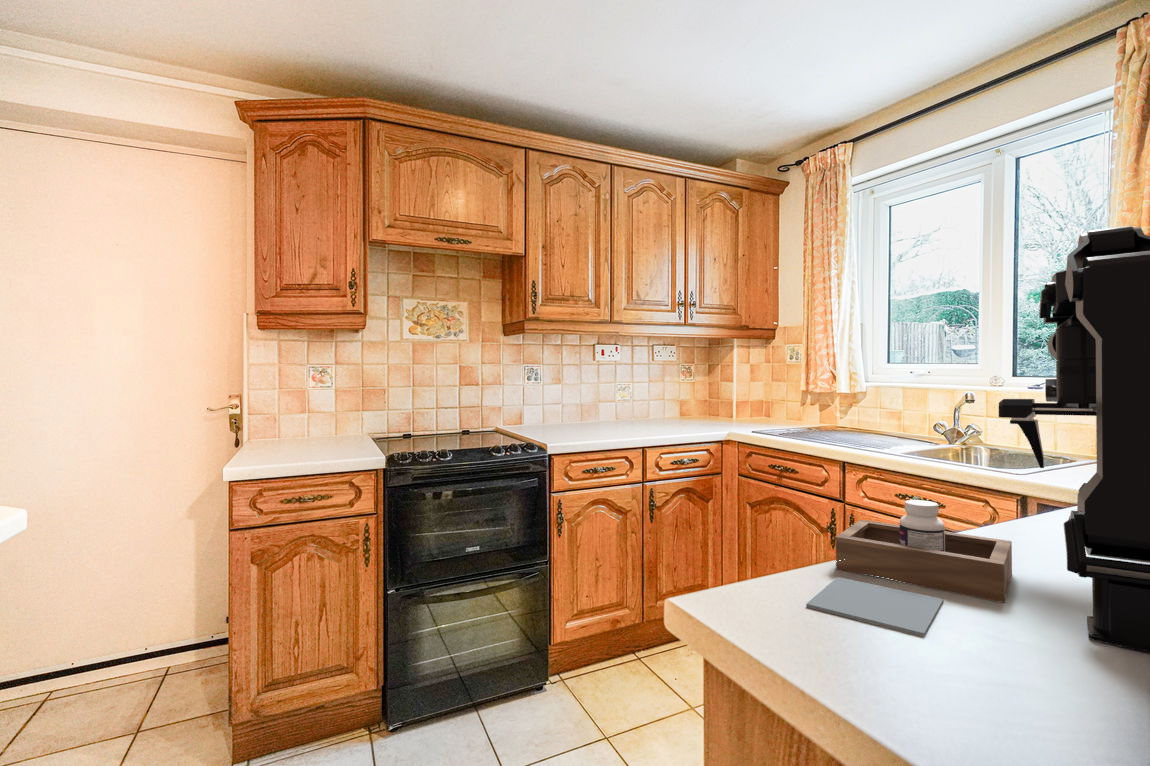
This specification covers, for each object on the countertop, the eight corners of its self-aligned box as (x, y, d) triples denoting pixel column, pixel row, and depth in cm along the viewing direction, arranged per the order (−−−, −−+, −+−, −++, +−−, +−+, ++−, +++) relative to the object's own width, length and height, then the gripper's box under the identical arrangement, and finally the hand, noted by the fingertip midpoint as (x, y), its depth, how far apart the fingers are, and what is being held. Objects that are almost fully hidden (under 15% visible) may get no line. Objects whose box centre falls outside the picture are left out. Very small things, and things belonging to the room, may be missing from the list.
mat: (924, 637, 57) (924, 633, 57) (806, 607, 65) (806, 603, 65) (943, 602, 66) (943, 599, 66) (837, 579, 74) (837, 576, 74)
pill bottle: (903, 563, 81) (902, 497, 81) (947, 570, 77) (946, 501, 77) (896, 573, 77) (896, 503, 77) (943, 581, 73) (942, 508, 73)
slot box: (1004, 602, 66) (1003, 564, 66) (836, 568, 78) (835, 536, 79) (1012, 574, 76) (1011, 541, 76) (861, 548, 88) (860, 519, 88)
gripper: (1173, 359, 77) (1175, 471, 77) (1005, 364, 90) (1006, 460, 89) (1184, 356, 69) (1186, 480, 69) (997, 361, 82) (999, 467, 81)
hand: (1084, 470), depth 77 cm, fingers open, 9 cm apart
